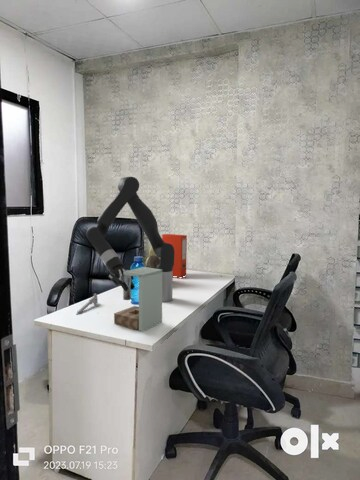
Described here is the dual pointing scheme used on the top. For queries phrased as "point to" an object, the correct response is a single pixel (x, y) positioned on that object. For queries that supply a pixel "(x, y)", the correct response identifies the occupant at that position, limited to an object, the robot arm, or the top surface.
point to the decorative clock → (152, 260)
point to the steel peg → (128, 282)
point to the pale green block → (149, 296)
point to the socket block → (128, 318)
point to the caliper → (88, 303)
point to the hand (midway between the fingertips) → (130, 289)
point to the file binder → (178, 252)
